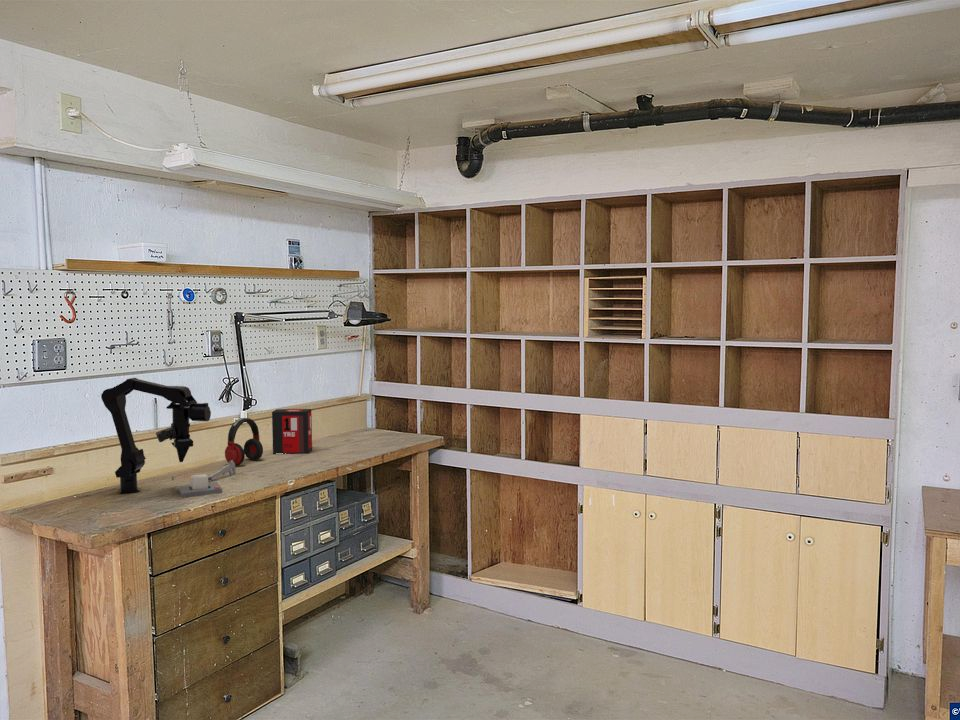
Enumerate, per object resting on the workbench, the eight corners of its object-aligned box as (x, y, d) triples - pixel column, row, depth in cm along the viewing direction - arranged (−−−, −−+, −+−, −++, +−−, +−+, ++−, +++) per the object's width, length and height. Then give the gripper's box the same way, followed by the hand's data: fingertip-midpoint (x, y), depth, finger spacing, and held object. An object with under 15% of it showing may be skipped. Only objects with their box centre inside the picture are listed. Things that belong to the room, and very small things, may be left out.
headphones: (239, 468, 310) (238, 421, 309) (221, 466, 314) (220, 420, 313) (266, 459, 326) (265, 416, 325) (248, 458, 330) (247, 414, 329)
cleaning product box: (273, 454, 339) (271, 411, 338) (277, 450, 348) (276, 409, 347) (308, 453, 340) (307, 411, 338) (312, 450, 349) (311, 408, 347)
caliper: (233, 474, 299) (233, 459, 299) (235, 474, 299) (235, 459, 298) (196, 485, 280) (196, 469, 280) (198, 486, 280) (198, 470, 280)
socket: (177, 490, 272) (177, 484, 272) (216, 485, 279) (216, 480, 279) (182, 497, 262) (181, 491, 262) (222, 492, 269) (222, 486, 269)
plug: (191, 491, 271) (190, 475, 271) (210, 488, 275) (210, 473, 274) (192, 493, 267) (192, 477, 267) (212, 491, 271) (212, 475, 270)
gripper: (154, 418, 273) (155, 458, 274) (160, 425, 257) (160, 469, 258) (186, 416, 279) (186, 456, 280) (193, 424, 263) (193, 466, 264)
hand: (181, 462), depth 270 cm, fingers closed
